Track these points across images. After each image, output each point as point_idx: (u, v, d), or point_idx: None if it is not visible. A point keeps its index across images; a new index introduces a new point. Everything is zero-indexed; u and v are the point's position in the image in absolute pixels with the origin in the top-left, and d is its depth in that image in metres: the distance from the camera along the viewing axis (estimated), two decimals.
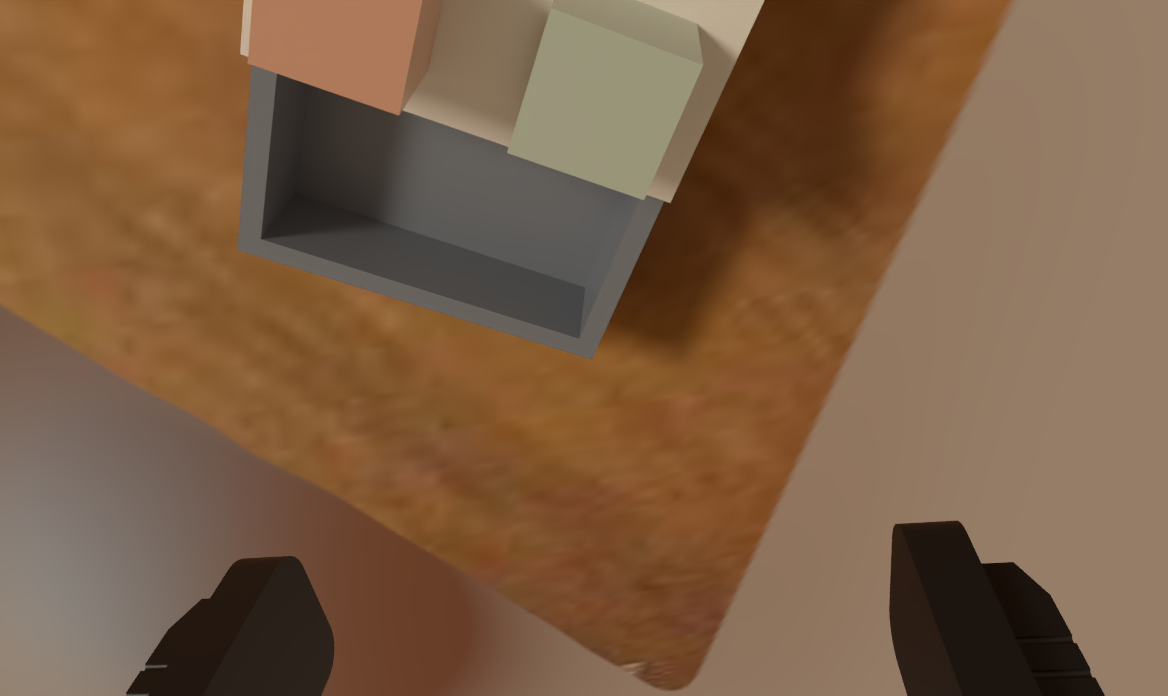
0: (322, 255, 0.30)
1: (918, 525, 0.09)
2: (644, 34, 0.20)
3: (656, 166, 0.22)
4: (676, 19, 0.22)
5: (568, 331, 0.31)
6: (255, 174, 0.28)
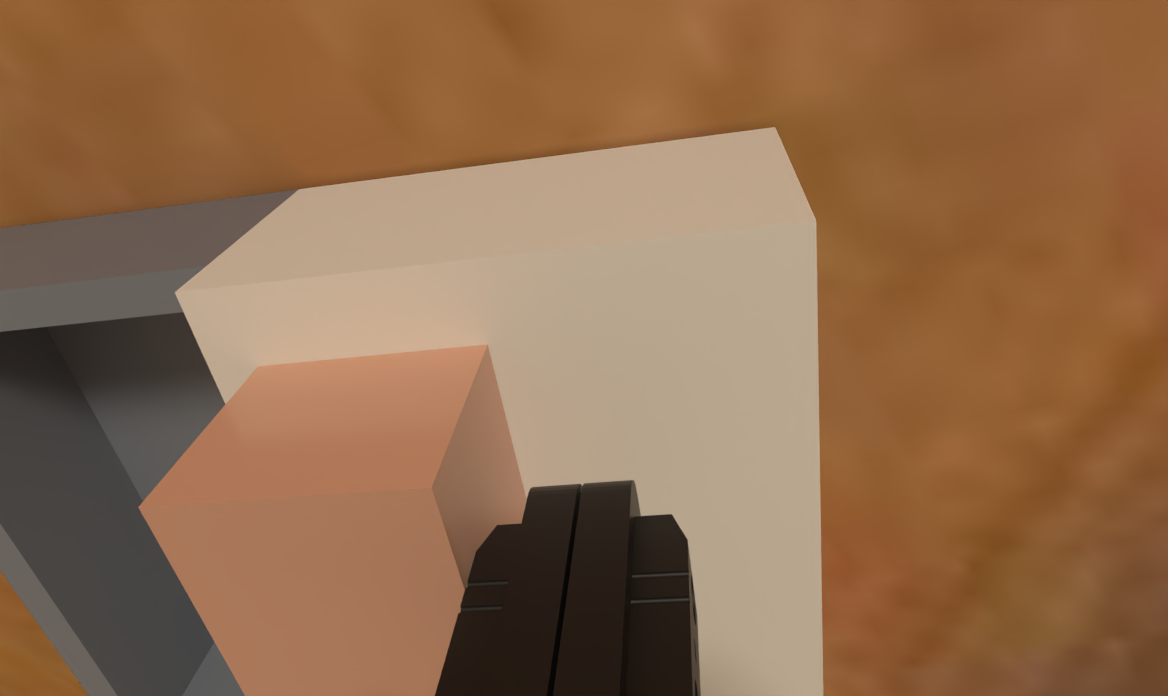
0: None
1: (598, 483, 0.11)
2: None
3: None
4: None
5: None
6: None
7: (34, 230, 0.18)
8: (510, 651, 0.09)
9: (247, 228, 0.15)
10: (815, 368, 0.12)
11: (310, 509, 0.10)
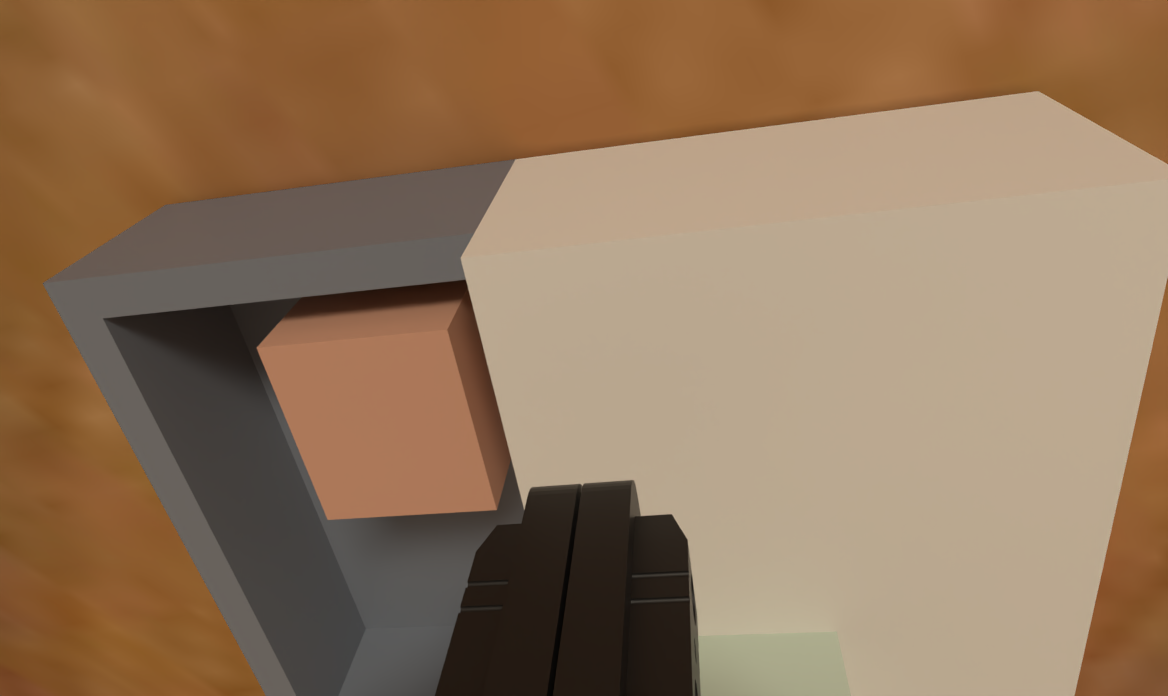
0: (158, 414, 0.16)
1: (598, 483, 0.11)
2: None
3: None
4: None
5: None
6: (227, 284, 0.14)
7: (233, 203, 0.17)
8: (510, 651, 0.09)
9: (489, 196, 0.14)
10: (1150, 338, 0.12)
11: None
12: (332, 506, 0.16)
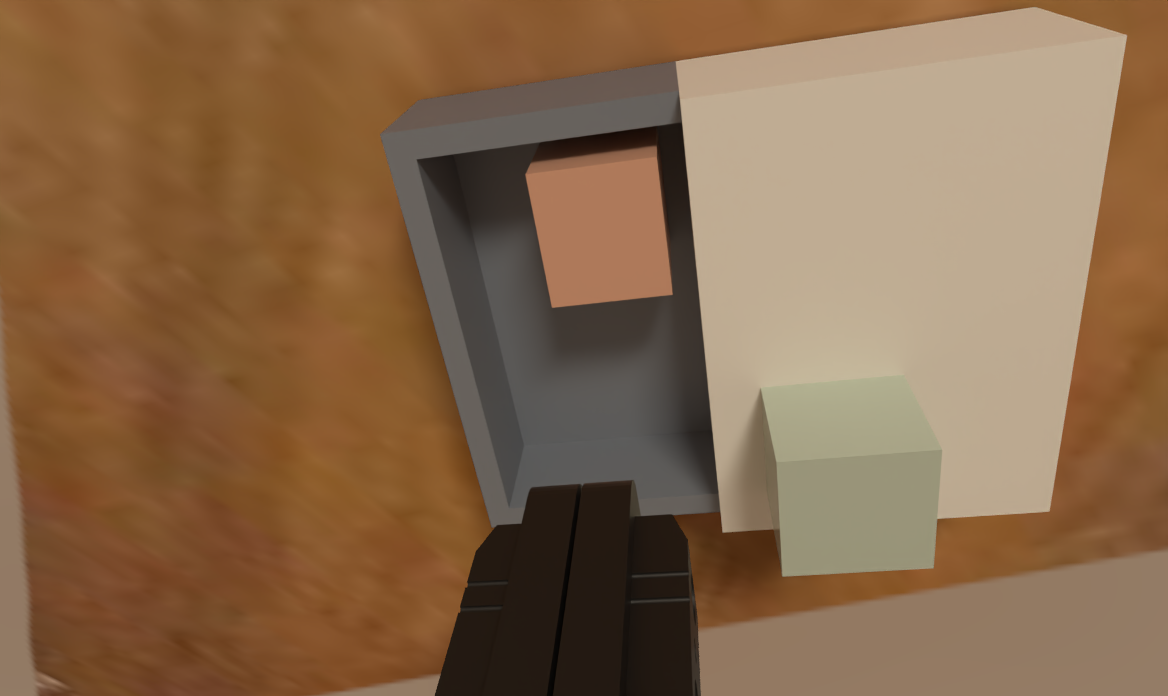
0: (437, 234, 0.23)
1: (598, 483, 0.11)
2: None
3: (821, 572, 0.22)
4: None
5: (507, 494, 0.28)
6: (507, 131, 0.21)
7: (474, 95, 0.24)
8: (510, 651, 0.09)
9: (673, 77, 0.22)
10: (1107, 143, 0.19)
11: None
12: (557, 296, 0.23)
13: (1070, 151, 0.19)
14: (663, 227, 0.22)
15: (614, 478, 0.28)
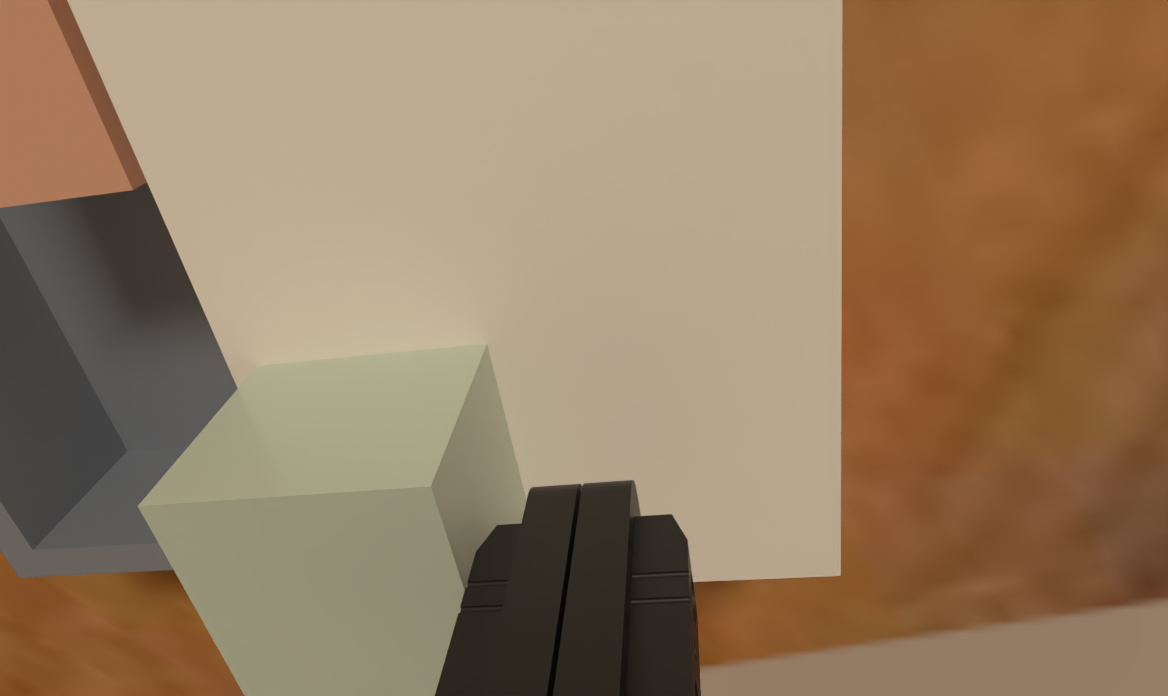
0: None
1: (597, 483, 0.11)
2: None
3: None
4: None
5: (29, 528, 0.18)
6: None
7: None
8: (510, 651, 0.09)
9: None
10: None
11: None
12: None
13: None
14: (71, 56, 0.12)
15: None
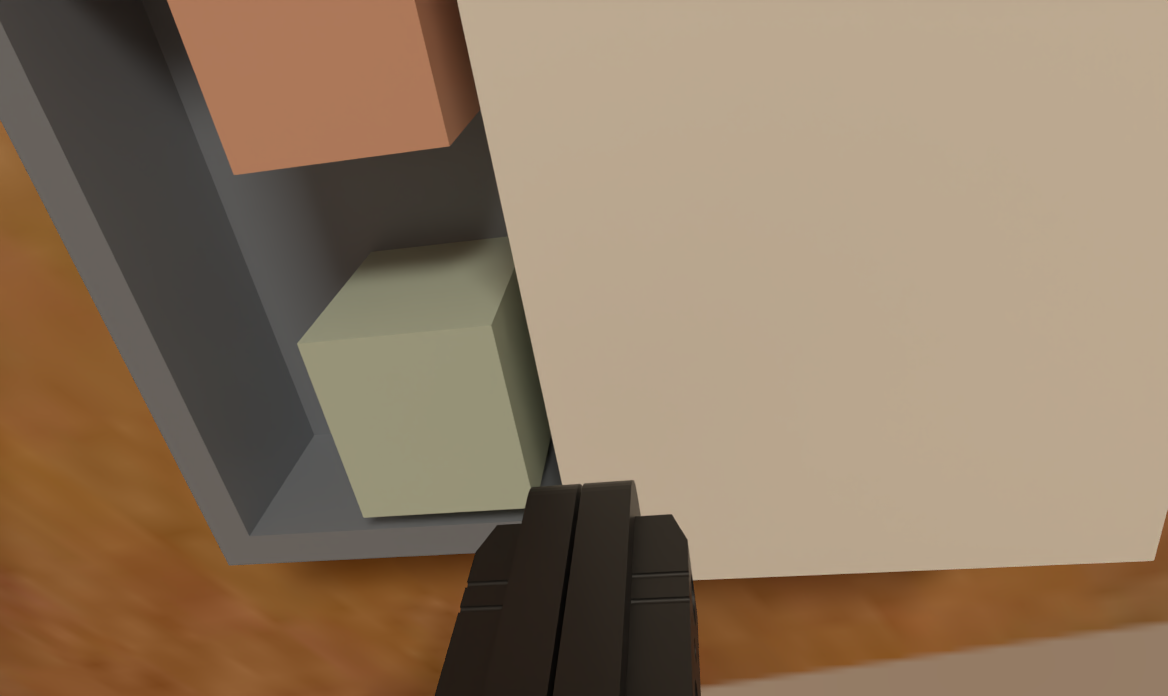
0: (13, 31, 0.12)
1: (598, 483, 0.11)
2: (372, 451, 0.15)
3: None
4: (509, 483, 0.15)
5: (246, 513, 0.17)
6: None
7: None
8: (510, 651, 0.09)
9: None
10: None
11: None
12: (239, 152, 0.12)
13: None
14: None
15: None
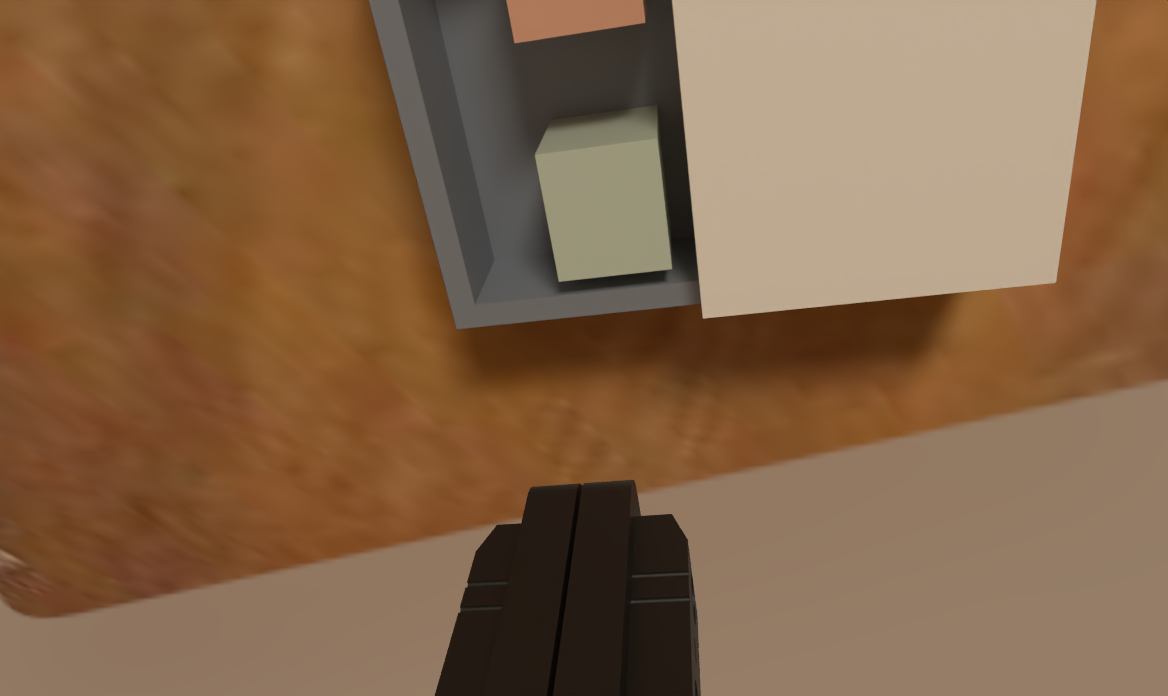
0: None
1: (598, 483, 0.11)
2: (571, 231, 0.24)
3: None
4: (657, 251, 0.24)
5: (473, 289, 0.26)
6: None
7: None
8: (510, 651, 0.09)
9: None
10: None
11: None
12: (520, 29, 0.21)
13: None
14: None
15: None
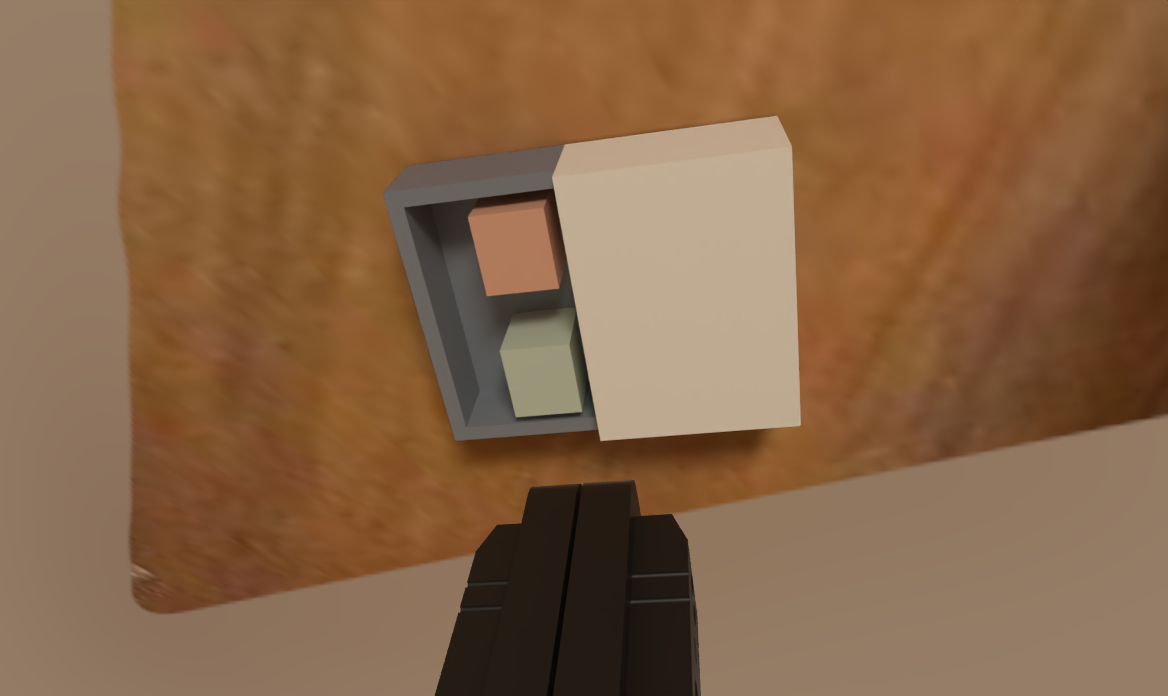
0: (417, 251, 0.38)
1: (598, 483, 0.11)
2: (522, 390, 0.40)
3: None
4: (572, 402, 0.40)
5: (465, 418, 0.42)
6: (457, 192, 0.36)
7: (441, 164, 0.39)
8: (510, 651, 0.09)
9: (557, 158, 0.36)
10: (792, 203, 0.34)
11: None
12: (489, 289, 0.38)
13: (773, 207, 0.34)
14: (550, 248, 0.36)
15: None
